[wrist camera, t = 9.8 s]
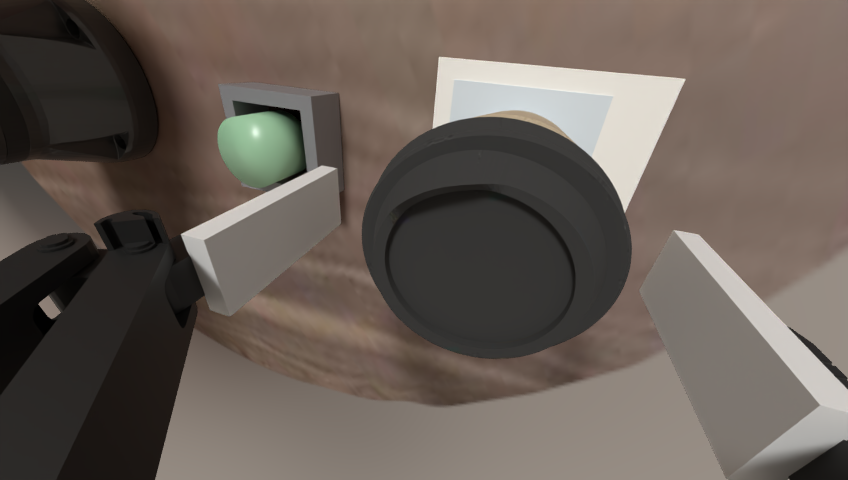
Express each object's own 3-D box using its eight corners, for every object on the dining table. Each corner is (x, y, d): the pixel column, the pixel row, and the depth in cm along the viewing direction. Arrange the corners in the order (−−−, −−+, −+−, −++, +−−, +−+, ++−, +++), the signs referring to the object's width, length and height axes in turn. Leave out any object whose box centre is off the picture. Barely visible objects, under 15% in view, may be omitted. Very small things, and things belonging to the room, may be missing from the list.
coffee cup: (593, 205, 21) (666, 400, 9) (469, 231, 25) (398, 391, 13) (568, 65, 18) (626, 60, 6) (430, 120, 22) (286, 189, 10)
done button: (265, 167, 27) (227, 181, 24) (254, 106, 25) (209, 112, 21) (314, 177, 26) (281, 193, 23) (308, 114, 23) (269, 122, 20)
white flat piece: (426, 218, 27) (424, 221, 26) (441, 57, 21) (438, 56, 20) (601, 256, 23) (603, 261, 23) (681, 78, 17) (686, 79, 17)
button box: (271, 174, 30) (242, 185, 27) (254, 82, 26) (218, 83, 23) (344, 189, 28) (321, 204, 25) (338, 92, 24) (310, 96, 21)
